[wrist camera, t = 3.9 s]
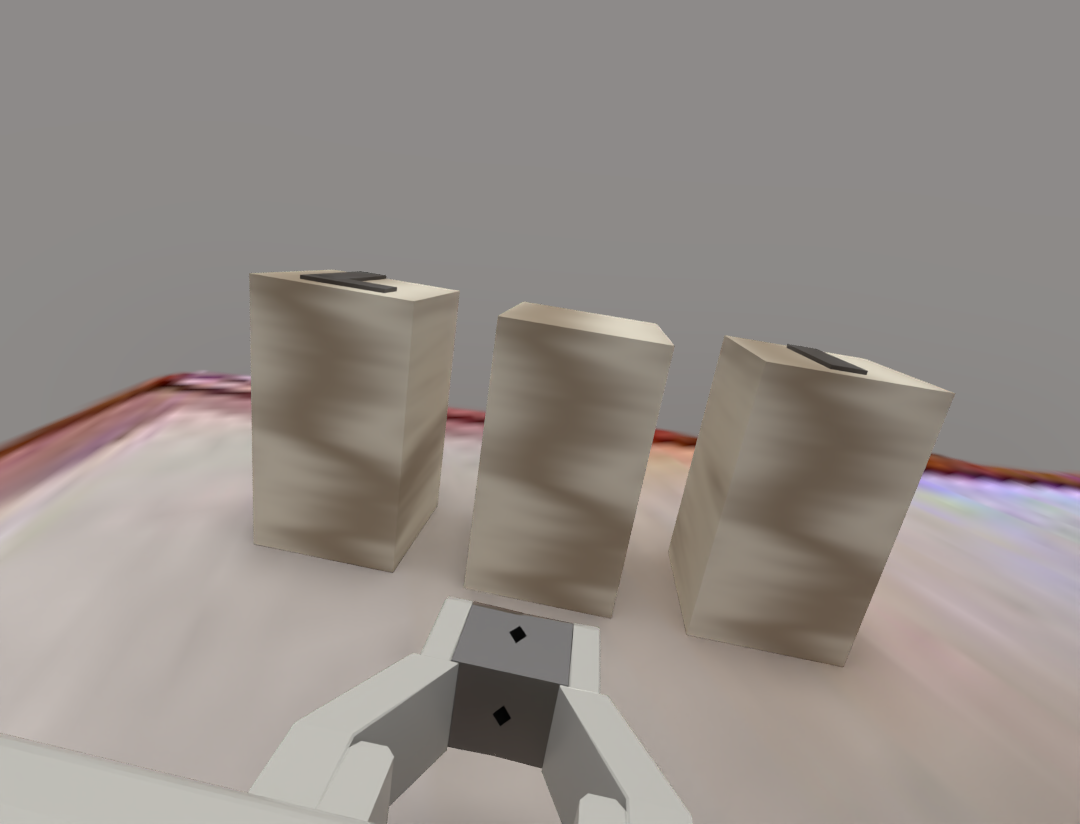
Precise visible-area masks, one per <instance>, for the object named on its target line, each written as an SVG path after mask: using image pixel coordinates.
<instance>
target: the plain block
mask: <svg viewBox="0 0 1080 824" xmlns="http://www.w3.org/2000/svg"><path fill="white" fill-rule="evenodd" d="M673 351H674V345H673V343H672V342H671V341H670V340H669V338H668V337H667V336H666V335H665V334H664V332H663V331H662V330H661V329H660V328H659V326H658V325H657V324H654V323H649V322H643V321H637V320H630V319H625V318H618V317H612V316H607V315H601V314H595V313H589V312H583V311H577V310H571V309H565V308H559V307H552V306H546V305H541V304H534V303H529V302H522V303H520V304H518V305H517V306H515V307H513V308H511V309H510V310H508V311H506V312H504V313H502V314H501V315H499V316H498V320H497V328H496V337H495V344H494V352H493V360H492V368H491V375H490V384H489V391H488V399H487V407H486V415H485V423H484V431H483V439H482V447H481V455H480V462H479V470H478V478H477V486H476V494H475V502H474V510H473V518H472V526H471V534H470V542H469V549H468V557H467V565H466V573H465V581H464V588H465V589H470V590H475V591H479V592H484V593H489V594H494V595H499V596H504V597H509V598H514V599H518V600H523V601H528V602H533V603H538V604H543V605H548V606H552V607H557V608H562V609H567V610H572V611H577V612H582V613H587V614H591V615H596V616H601V617H606V618H611V617H612V612H613V608H614V604H615V600H616V595H617V591H618V587H619V582H620V578H621V574H622V570H623V565H624V561H625V557H626V552H627V548H628V544H629V539H630V535H631V531H632V527H633V522H634V518H635V514H636V509H637V505H638V501H639V497H640V492H641V488H642V484H643V479H644V475H645V471H646V466H647V462H648V458H649V454H650V449H651V445H652V441H653V436H654V432H655V428H656V423H657V419H658V415H659V410H660V406H661V402H662V398H663V393H664V389H665V385H666V381H667V376H668V372H669V368H670V363H671V359H672V355H673Z"/></svg>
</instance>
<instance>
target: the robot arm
mask: <svg viewBox="0 0 1080 824" xmlns="http://www.w3.org/2000/svg"><path fill="white" fill-rule="evenodd" d="M447 747H451V748H456V749H461V750H466V751H471V752H476V753H481V754H486V755H491V756H496V757H500V758H503V759H507V760H511V761H515V762H519V763H523V764H526V765H530V766H534V767H538V768H542V773H543V776H544V779H545V781H546V784H547V786H548V789H549V792H550V794H551V797H552V799H553V802H554V804H555V807H556V810H557V812H558V815H559V817H560V820H561V822H562V824H693V822H692V816H691V814H690V812H689V811H688V810H687V808H686V807H685V805H684V804H683V802H682V801H681V800H680V798H679V797H678V795H677V794H676V792H675V791H674V790H673V788H672V787H671V785H670V784H669V782H668V781H667V779H666V778H665V777H664V775H663V774H662V772H661V771H660V769H659V768H658V767H657V765H656V764H655V762H654V761H653V759H652V758H651V756H650V755H649V754H648V752H647V751H646V749H645V748H644V746H643V745H642V744H641V742H640V741H639V739H638V738H637V736H636V735H635V733H634V732H633V731H632V729H631V728H630V726H629V725H628V723H627V722H626V721H625V719H624V718H623V716H622V715H621V713H620V712H619V710H618V709H617V708H616V706H615V705H614V703H613V702H612V700H611V699H610V698H609V696H607V695H603V694H600V629H599V627H595V626H589V625H584V624H578V623H573V624H572V623H569V622H564V621H559V620H554V619H549V618H544V617H539V616H535V615H530V614H525V613H522V612H518V611H513V610H509V609H505V608H501V607H496V606H492V605H488V604H484V603H479V602H475V601H474V602H473V601H470V600H465V599H461V598H456V597H452V596H449V597H448V598H447V599H446V600H445V601H444V604H443V606H442V608H441V610H440V612H439V614H438V617H437V619H436V621H435V623H434V625H433V627H432V630H431V632H430V634H429V636H428V638H427V640H426V643H425V645H424V647H423V649H422V651H421V653H420V654H416V653H411V654H410V655H408V656H406V657H405V658H403V659H401V660H400V661H398V662H396V663H394V664H393V665H391V666H389V667H388V668H386V669H384V670H383V671H381V672H379V673H378V674H376V675H374V676H372V677H371V678H369V679H367V680H366V681H364V682H362V683H361V684H359V685H357V686H356V687H354V688H352V689H350V690H349V691H347V692H345V693H344V694H342V695H340V696H339V697H337V698H335V699H334V700H332V701H330V702H328V703H327V704H325V705H323V706H322V707H320V708H318V709H317V710H315V711H313V712H312V713H310V714H308V715H306V716H305V717H303V718H301V719H300V720H298V721H296V722H295V723H294V724H293V726H292V727H291V729H290V730H289V732H288V733H287V735H286V736H285V738H284V739H283V741H282V742H281V744H280V745H279V747H278V748H277V750H276V751H275V753H274V754H273V756H272V757H271V759H270V760H269V762H268V763H267V765H266V766H265V768H264V769H263V771H262V772H261V774H260V775H259V777H258V778H257V780H256V781H255V783H254V784H253V786H252V787H251V789H250V790H249V792H248V793H247V792H243V791H239V790H235V789H231V788H227V787H223V786H219V785H214V784H210V783H206V782H202V781H198V780H194V779H190V778H185V777H181V776H177V775H173V774H169V773H165V772H161V771H156V770H152V769H148V768H144V767H140V766H136V765H132V764H127V763H123V762H119V761H115V760H111V759H107V758H103V757H98V756H94V755H90V754H86V753H82V752H78V751H74V750H69V749H65V748H61V747H57V746H53V745H49V744H45V743H40V742H36V741H32V740H28V739H24V738H20V737H16V736H11V735H7V734H3V733H0V824H387V820H388V810H389V806H390V805H391V804H392V803H393V802H394V801H395V800H396V799H397V798H398V797H399V796H400V795H401V794H402V793H404V792H405V791H406V790H407V789H408V788H409V787H410V786H411V785H412V784H413V783H414V782H415V781H416V780H417V779H418V778H419V777H420V776H421V775H422V774H423V773H424V772H425V771H426V770H427V769H428V768H429V767H430V766H431V765H432V764H433V763H434V762H435V761H436V760H437V759H438V758H439V757H440V756H441V755H442V754H443V753H444V752H445V751H446V750H447Z"/></svg>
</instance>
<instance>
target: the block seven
mask: <svg viewBox="0 0 1080 824" xmlns="http://www.w3.org/2000/svg"><path fill="white" fill-rule="evenodd" d="M249 278H250V337H251V338H250V339H251V340H250V341H251V405H252V468H253V532H254V544H256V545H261V546H265V547H270V548H275V549H280V550H285V551H290V552H295V553H299V554H304V555H309V556H314V557H319V558H324V559H329V560H333V561H338V562H343V563H348V564H353V565H358V566H363V567H367V568H372V569H377V570H382V571H387V572H392V573H393V572H394V570H395V569H396V567H397V566H398V564H399V563H400V561H401V560H402V558H403V557H404V555H405V554H406V552H407V551H408V549H409V548H410V546H411V545H412V543H413V542H414V540H415V539H416V537H417V536H418V534H419V533H420V531H421V530H422V528H423V527H424V525H425V524H426V522H427V521H428V519H429V518H430V516H431V515H432V513H433V512H434V510H435V509H436V507H437V505H438V496H439V486H440V476H441V467H442V457H443V447H444V438H445V428H446V419H447V409H448V399H449V390H450V380H451V370H452V361H453V351H454V341H455V331H456V322H457V312H458V303H459V293H460V291H457V290H451V289H445V288H440V287H433V286H428V285H422V284H416V283H410V282H403V281H398V280H392V279H386V276H385V275H380V274H373V273H368V272H361V271H359V272H344V271H338V270H316V271H293V272H270V273H250V274H249Z"/></svg>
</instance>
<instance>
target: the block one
mask: <svg viewBox="0 0 1080 824" xmlns="http://www.w3.org/2000/svg"><path fill="white" fill-rule="evenodd" d="M954 396H955V393H953V392H950V391H947V390H945V389H942V388H939V387H937V386H934V385H931V384H929V383H927V382H924V381H921V380H919V379H916V378H913V377H911V376H908V375H906V374H903V373H900V372H898V371H895V370H893V369H890V368H888V367H885V366H882V365H880V364H877V363H874V362H872V361H869V360H867V359H863V358H857V357H851V356H845V355H839V354H833V353H827V352H822V351H820V350H818V349H813V348H807V347H802V346H795V345H789V344H787V346H785V345H779V344H773V343H767V342H762V341H756V340H749V339H744V338H737V337H731V336H726V335H725V336H724V340H723V343H722V347H721V351H720V355H719V359H718V363H717V367H716V370H715V374H714V378H713V382H712V386H711V389H710V394H709V397H708V401H707V405H706V409H705V412H704V417H703V420H702V424H701V428H700V432H699V435H698V439H697V443H696V447H695V451H694V455H693V458H692V462H691V466H690V470H689V474H688V478H687V481H686V485H685V489H684V493H683V497H682V501H681V504H680V508H679V512H678V516H677V520H676V524H675V527H674V531H673V535H672V539H671V543H670V547H669V550H668V554H669V558H670V563H671V567H672V571H673V576H674V580H675V585H676V589H677V594H678V598H679V603H680V607H681V612H682V616H683V621H684V625H685V630H686V634H687V635H690V636H695V637H699V638H704V639H709V640H714V641H719V642H724V643H729V644H733V645H738V646H743V647H748V648H753V649H758V650H762V651H767V652H772V653H777V654H782V655H787V656H792V657H796V658H801V659H806V660H811V661H816V662H821V663H826V664H830V665H835V666H840V667H844V664H845V662H846V659H847V657H848V655H849V652H850V650H851V647H852V645H853V642H854V640H855V637H856V635H857V633H858V630H859V628H860V625H861V623H862V620H863V618H864V616H865V613H866V611H867V608H868V606H869V603H870V601H871V598H872V596H873V594H874V591H875V589H876V586H877V584H878V581H879V579H880V576H881V574H882V572H883V569H884V567H885V564H886V562H887V559H888V557H889V555H890V552H891V550H892V547H893V545H894V542H895V540H896V537H897V535H898V533H899V530H900V528H901V525H902V523H903V520H904V518H905V516H906V513H907V511H908V508H909V506H910V503H911V501H912V498H913V496H914V494H915V491H916V489H917V486H918V484H919V481H920V479H921V476H922V474H923V472H924V469H925V467H926V464H927V462H928V459H929V457H930V455H931V452H932V449H933V447H934V445H935V442H936V439H937V437H938V435H939V433H940V430H941V428H942V425H943V423H944V420H945V418H946V416H947V413H948V410H949V408H950V406H951V403H952V401H953V398H954Z"/></svg>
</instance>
